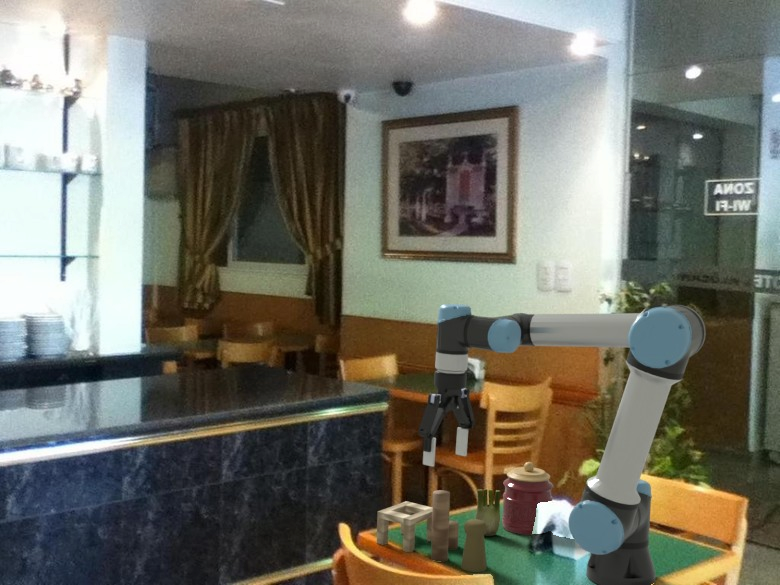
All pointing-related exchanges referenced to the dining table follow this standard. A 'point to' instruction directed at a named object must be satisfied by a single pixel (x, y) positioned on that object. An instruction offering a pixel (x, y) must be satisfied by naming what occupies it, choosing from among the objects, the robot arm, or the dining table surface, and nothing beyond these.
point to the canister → (524, 497)
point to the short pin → (453, 535)
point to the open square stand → (404, 522)
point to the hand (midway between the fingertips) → (445, 460)
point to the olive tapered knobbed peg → (474, 546)
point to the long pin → (440, 525)
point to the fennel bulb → (489, 510)
